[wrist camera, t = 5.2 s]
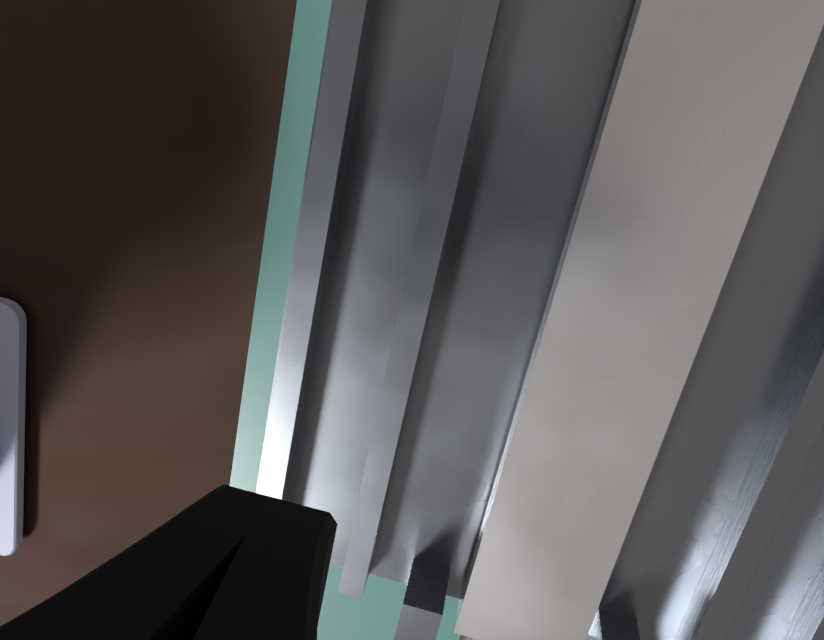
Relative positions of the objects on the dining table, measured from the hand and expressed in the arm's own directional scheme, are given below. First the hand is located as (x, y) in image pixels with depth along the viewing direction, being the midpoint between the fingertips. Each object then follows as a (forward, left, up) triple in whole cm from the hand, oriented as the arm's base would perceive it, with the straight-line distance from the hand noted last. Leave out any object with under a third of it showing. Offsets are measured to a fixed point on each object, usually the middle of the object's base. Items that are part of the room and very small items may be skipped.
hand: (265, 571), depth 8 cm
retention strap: (+4, +2, -6) cm, 8 cm away
